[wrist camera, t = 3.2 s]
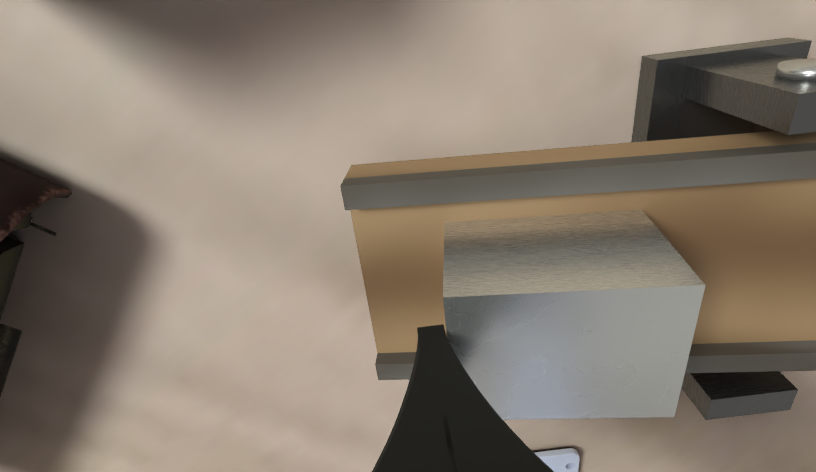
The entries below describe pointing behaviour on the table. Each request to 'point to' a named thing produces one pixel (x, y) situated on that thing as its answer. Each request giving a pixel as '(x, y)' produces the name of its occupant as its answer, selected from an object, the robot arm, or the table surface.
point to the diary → (7, 211)
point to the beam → (602, 192)
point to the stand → (724, 115)
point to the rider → (570, 314)
